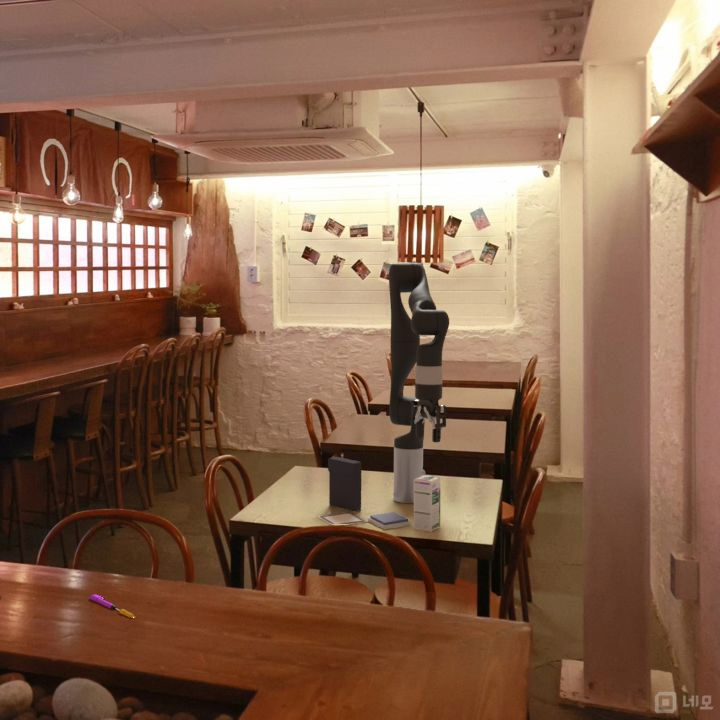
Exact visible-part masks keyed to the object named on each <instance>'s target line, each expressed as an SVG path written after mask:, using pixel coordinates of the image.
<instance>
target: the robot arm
mask: <svg viewBox="0 0 720 720" xmlns="http://www.w3.org/2000/svg"><path fill="white" fill-rule="evenodd" d="M388 287H389V290H388V291H389V303H390V304H389V305H390V368H391V369H390V374H391V375H390V392H389V393H390V394H389V409H388V411H389V419H390V422H391V423H392V424H393V425H395V426H396V425H397V426H408V427H410V430H409V432H408V433H405V434H401V435H398V436H395V438H394V440H393V442H394V444H393V493H392V495H393V501H394V502H397V503H401V504H414V479H417V478H419V477H421V476H423V475H426V471H425V469H423V467H424V439H425V424H426V422H425V421H426V419H428V422H429V423H430V424H431V427H432V430H431V431H432V435H431V436H432V437H431V440H432V441H431V442H432V443H440V442H441V436H442V435H441V434H442V430H441V429H443V428H446V427H447V406H446V405H442V404H441V405H440V403H439V401H440V400H442V398H443V378H444V377H443V349H444V344H445V340H446V337H447V334H448V331H449V327H450V318H449V314H448V313H447V312H446V311H445V310H443V309H437V306H436V304H435V302H434V300H433V298H432V296H431V293H430V292H431V291H430V288H429V287H430V286H429V282H428V276H427V273H426V269H425V267H424V266H423V265H422V264H421V263H419V262H393V263H391V265H390V266H389V270H388ZM402 293H403V294H404V293H405V294H406V293H410V294H409V296H408V301H407V302H408V308H409V310H410V312H411V317H410V316H409V314H408V312H407V311H406V309H405V306H404V304H403V301H402V297H401V295H402ZM421 336H433V339H432V340H431V341H430V342H427V343H422V344H421ZM414 367H416V368H415V380H414V381H415V383H414V396H406V395H404V389H405V388H404V387H405V383H406V381H407V379H408V377H409V375H410V374H411V372H412V370H413V369H414Z"/></svg>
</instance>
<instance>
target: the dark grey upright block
mask: <svg viewBox="0 0 720 720" xmlns="http://www.w3.org/2000/svg"><path fill="white" fill-rule="evenodd" d="M327 471H328V473H329V476H328V478H329V482H328V483H329V487H328V488H329V497H328V498H329V499H328V501H329V502H328V503H329V504H328V505H329V506H331V507H334V508H338V509H342V510H346V511H348V512H352V513H355V512H358V510H359V511H361V510H362V461H358V460H354V459H353V460H352V459H349V458H344V457H340V456H334V457H330V458H328V459H327Z"/></svg>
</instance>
